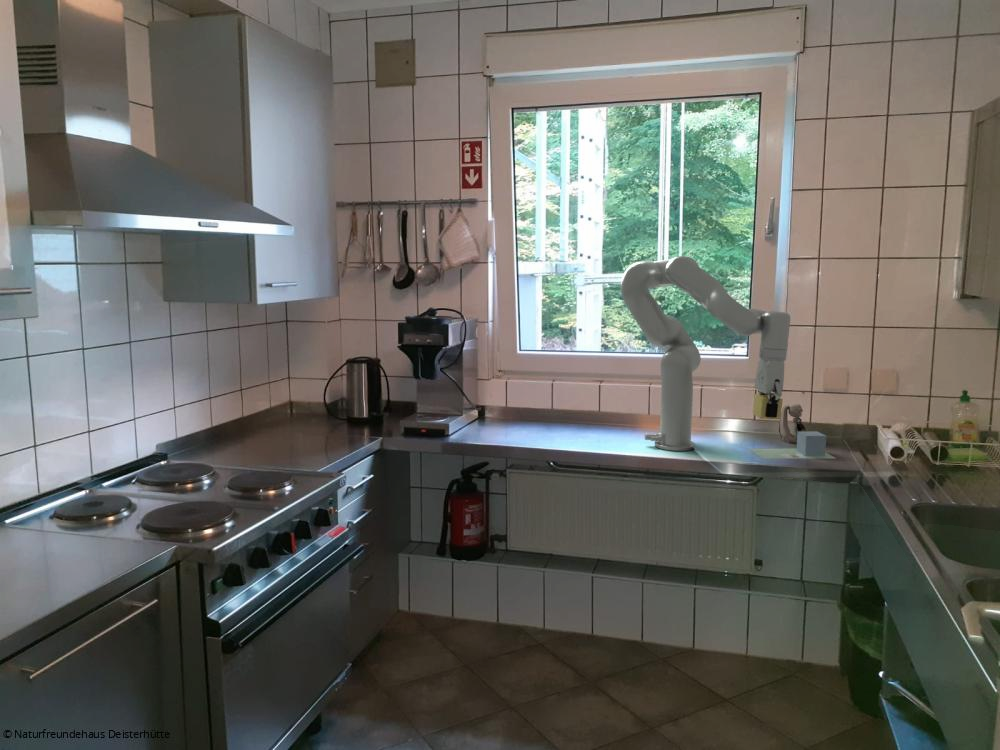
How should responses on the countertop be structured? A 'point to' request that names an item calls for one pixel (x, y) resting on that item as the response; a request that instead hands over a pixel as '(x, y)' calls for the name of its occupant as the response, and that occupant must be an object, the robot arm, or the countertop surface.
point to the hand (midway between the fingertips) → (766, 413)
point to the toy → (799, 427)
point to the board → (785, 454)
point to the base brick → (811, 443)
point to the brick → (764, 407)
